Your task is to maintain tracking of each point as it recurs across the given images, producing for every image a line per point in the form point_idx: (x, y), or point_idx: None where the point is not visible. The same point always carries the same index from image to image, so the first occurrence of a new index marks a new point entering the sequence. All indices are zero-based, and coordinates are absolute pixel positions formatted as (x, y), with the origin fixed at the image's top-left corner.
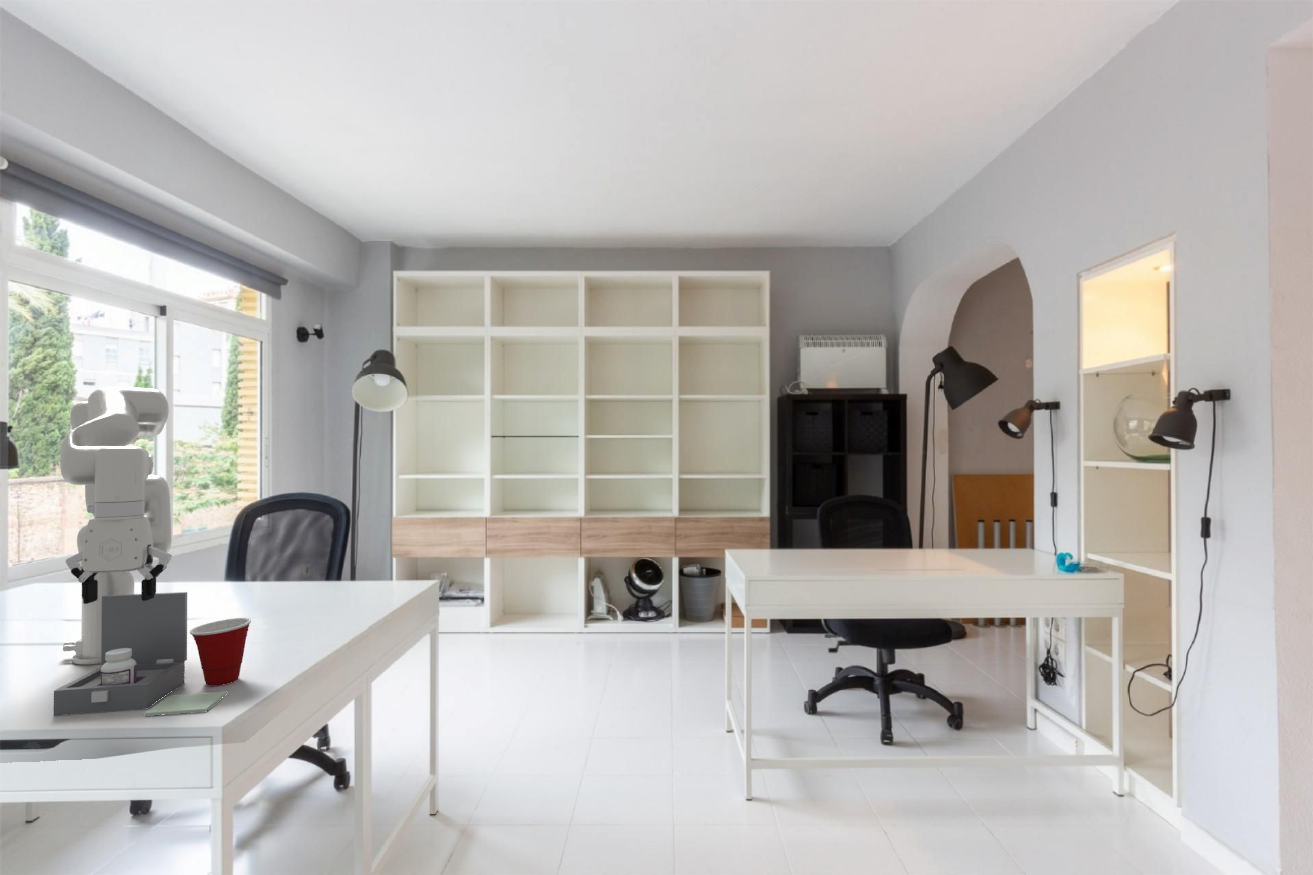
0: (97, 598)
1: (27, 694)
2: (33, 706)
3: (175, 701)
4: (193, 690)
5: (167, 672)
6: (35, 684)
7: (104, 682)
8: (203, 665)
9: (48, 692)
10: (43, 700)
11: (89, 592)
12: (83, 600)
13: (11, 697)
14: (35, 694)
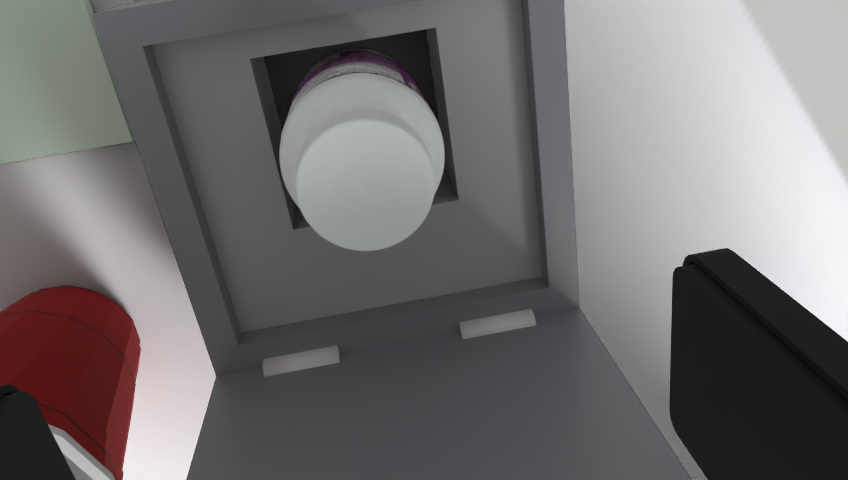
0: (676, 431)
1: (803, 209)
2: (694, 71)
3: (26, 55)
4: (116, 238)
5: (164, 222)
6: (836, 311)
7: (379, 65)
8: (66, 328)
9: (735, 229)
10: (698, 140)
11: (749, 369)
12: (740, 258)
13: (844, 179)
14: (772, 208)
